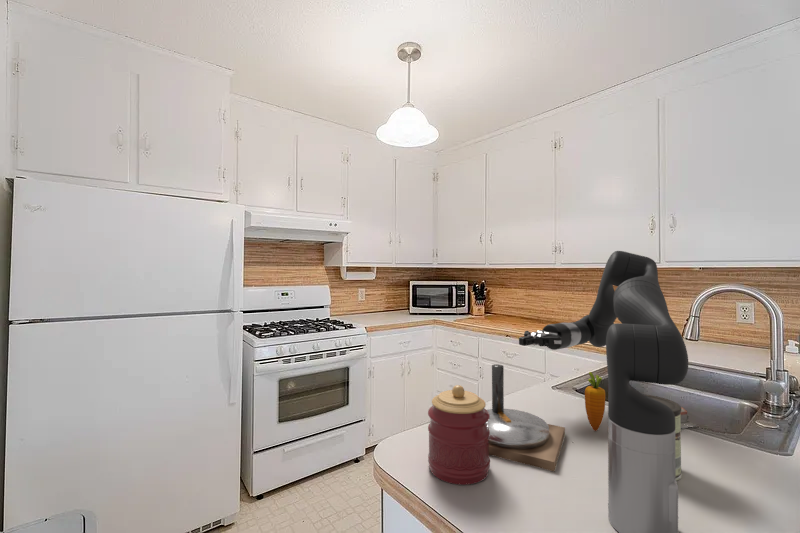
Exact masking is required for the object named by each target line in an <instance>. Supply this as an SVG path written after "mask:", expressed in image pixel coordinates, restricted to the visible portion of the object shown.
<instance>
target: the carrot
mask: <svg viewBox="0 0 800 533" xmlns="http://www.w3.org/2000/svg"><path fill="white" fill-rule="evenodd" d="M588 375H589V376H590V377H589V378H588V379H587V381H588V383H589V384H590V385H588V386H586V388H585V389H584V405H585V406H584V407H585V412H586V417H587V419H588V422H589V425H590V427H591V429H592V430H593V431H594V432H597V431H599V430H598V429H600V427H601V424H602V422H603V418H604V415H605V414H604V413H605V411H606V410H605V409H606V390H605V389H604V388H602V387H600V386H599V385H600V384H601V382H602V380H603V378H602V377H601V376H600V375H598V374H596V375H594V374H593V372H592V371H589V372H588Z"/></svg>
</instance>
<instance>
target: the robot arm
mask: <svg viewBox="0 0 800 533" xmlns="http://www.w3.org/2000/svg"><path fill="white" fill-rule="evenodd" d="M658 270H659V269H658V265H657V262H655V260H654V259H652V258H650V257H647V256H643V255H640V254H637V253H632V252H627V251H623V250H616V251H614V252H612V253H611V254H610V256H609V258H608V259H607V261H606V264H605V267H604V269H603V273H602V276H601V279H600V282H599V286H598V290H597V293H596V294H597V295H596V298H595V301H594V302H593V305H592V307H591V309H590V311H589V314H586V315H584V316H583V317H582V318H580V319H579V320H576V321H571V322H558V323H550V324H546V325H544V327H543V328H542V330H541V329H540V330H537V331H534V332H531V331H530V330H526V331H524V333H523V336H520V337H519V338H518V344H519V346H523V347H527V346H533V347H534V346H540V347H546V348H548V349H550V350H552V351H553V350H554V351H556V350H560V349H561V350H562V349H569V348H571V347H574V346H577V345H578V346H579V345H584V344H586V343H588V342H589V344H590V345H591V346H593V347H596V348H603V347H605V351H606V352H605V354H606V368H607V381H608V382H607V383H608V385H607V386H608V389H607V390H608V394H607V395H608V399H607V400H608V402H607V403H608V404H607V406H608V407H607V427H608V430H607V431H608V432H607V437H608V438H607V443H608V445H607V454H608V456H607V458H608V460H607V463H608V465H607V467H608V469H607V473H608V478H607V479H608V481H607V484H608V488H607V490H608V491H607V492H608V493H607V494H608V495H607V496H608V497H607V498H608V500H607V501H608V503H607V506H608V508H607V509H608V510H607V511H608V513H607V514H608V521H609V523H610V525H611V526H612V527H613V529H614V530H616V531H617V532H618V533H679V485H678V482H677V481H676V464H675V415H674V412H673V411H672V410H671V409H670V408H669V407H668V406H666V405H665V404H663V403H661V402H659V401H657V400H654V399H652V398H650V397H648V396H646V395H647V394H645V395H644V393H643V392H641V391H639V390H638V389H636V388H635V387H634V386H632V384H630V381H632V382H633V381H634V382H640V383H648V384H654V385H655V384H656V385H664V386H665V385H667V386H669V385H678V384H680V383H681V382H683V381H684V379H685V378H686V376H687V374H688V371H689V355H688V350H687V347H686V346H687V345H686V344H685V341H684V338H683V337H682V334H681V332H680V330H679V329H678V327H677V325H676V323H675V322H674V321H673V319H672V317H671V316H670V312H669V308H668V305H667V301H666V298H665V296H664V295H665V294H664V293H663V291H662V289H661V286H660V282H659V273H658ZM614 287H616V288H615V289H614ZM617 320H618V321H619V322H620V323H619V322H618V323H615V321H617Z"/></svg>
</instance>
